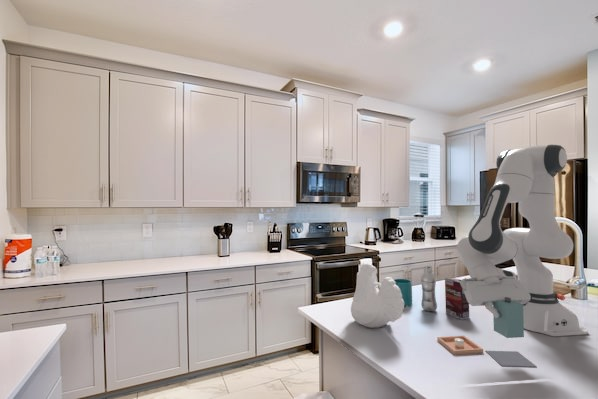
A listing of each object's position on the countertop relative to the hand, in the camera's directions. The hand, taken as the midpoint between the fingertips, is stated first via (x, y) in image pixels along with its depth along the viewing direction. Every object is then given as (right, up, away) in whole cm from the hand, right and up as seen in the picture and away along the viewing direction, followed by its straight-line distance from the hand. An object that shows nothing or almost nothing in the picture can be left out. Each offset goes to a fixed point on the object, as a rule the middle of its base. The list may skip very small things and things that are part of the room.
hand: (509, 316), depth 92 cm
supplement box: (+4, -15, +38) cm, 41 cm away
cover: (0, -5, 0) cm, 5 cm away
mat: (0, -14, 0) cm, 14 cm away
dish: (-11, -14, +9) cm, 20 cm away
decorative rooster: (-35, -15, +27) cm, 47 cm away
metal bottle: (-5, -15, +45) cm, 47 cm away
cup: (-15, -16, +55) cm, 59 cm away
